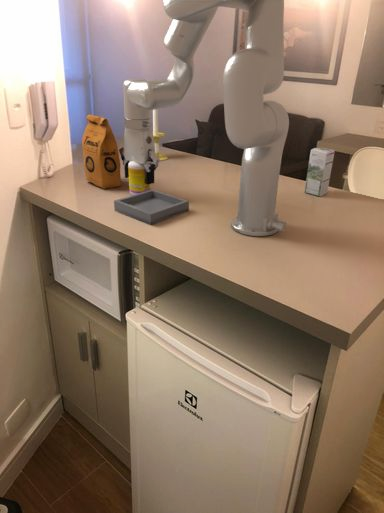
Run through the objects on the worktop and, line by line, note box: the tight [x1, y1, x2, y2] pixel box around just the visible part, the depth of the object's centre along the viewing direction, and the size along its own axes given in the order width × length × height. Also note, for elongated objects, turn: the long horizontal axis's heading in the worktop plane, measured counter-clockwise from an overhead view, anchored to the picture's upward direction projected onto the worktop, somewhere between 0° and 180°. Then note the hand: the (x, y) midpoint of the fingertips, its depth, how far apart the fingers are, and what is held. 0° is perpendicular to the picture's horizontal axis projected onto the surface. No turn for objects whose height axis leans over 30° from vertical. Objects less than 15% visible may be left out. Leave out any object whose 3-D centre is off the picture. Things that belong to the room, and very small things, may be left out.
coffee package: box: [81, 114, 122, 190], centre depth 136 cm, size 10×12×22 cm
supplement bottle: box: [128, 156, 151, 196], centre depth 130 cm, size 7×7×13 cm
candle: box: [152, 109, 169, 162], centre depth 169 cm, size 10×10×27 cm
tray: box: [113, 189, 190, 226], centre depth 119 cm, size 15×15×3 cm
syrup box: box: [304, 146, 335, 197], centre depth 135 cm, size 6×6×14 cm
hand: (139, 180), depth 131 cm, fingers open, 9 cm apart
